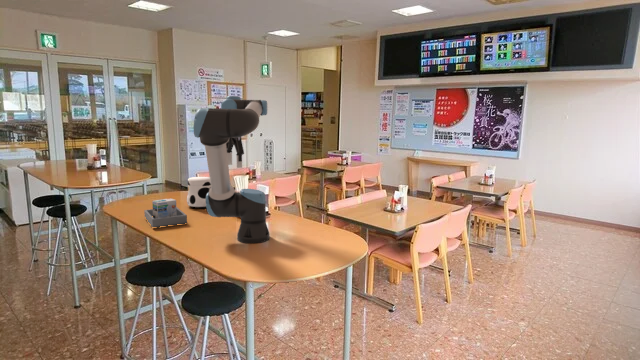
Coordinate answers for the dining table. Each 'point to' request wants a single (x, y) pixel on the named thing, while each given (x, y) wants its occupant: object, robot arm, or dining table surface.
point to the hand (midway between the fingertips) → (234, 166)
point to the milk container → (198, 191)
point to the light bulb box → (164, 208)
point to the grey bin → (166, 219)
